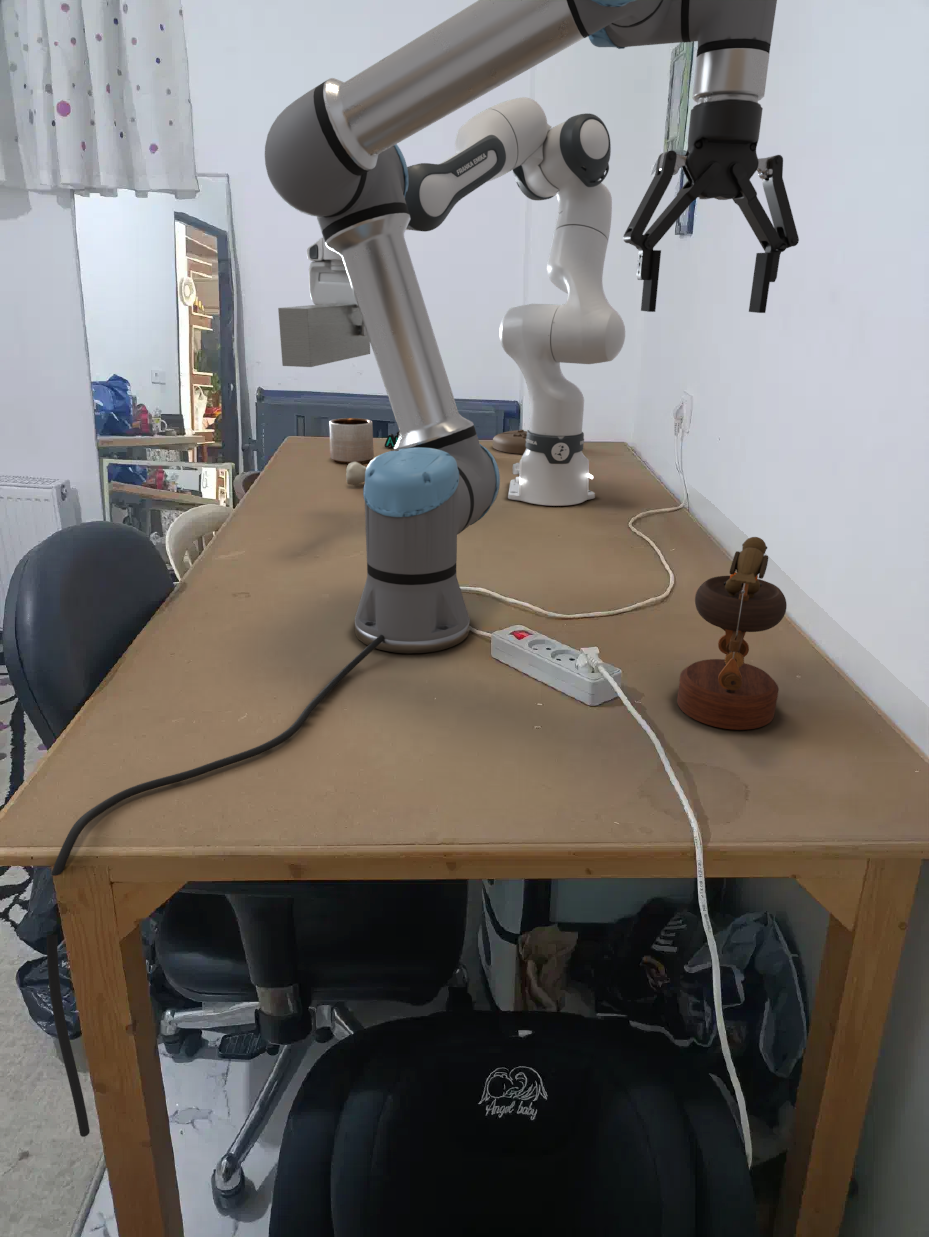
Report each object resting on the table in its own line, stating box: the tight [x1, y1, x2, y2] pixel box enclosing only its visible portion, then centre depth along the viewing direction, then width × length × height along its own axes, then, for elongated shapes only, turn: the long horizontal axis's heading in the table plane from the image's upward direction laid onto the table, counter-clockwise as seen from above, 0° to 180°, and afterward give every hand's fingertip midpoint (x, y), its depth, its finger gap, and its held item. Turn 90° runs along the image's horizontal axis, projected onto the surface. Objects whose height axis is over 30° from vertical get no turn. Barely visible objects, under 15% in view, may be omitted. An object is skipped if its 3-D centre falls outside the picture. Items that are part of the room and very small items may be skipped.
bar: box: [277, 303, 371, 368], centre depth 142 cm, size 23×5×9 cm, turn 162°
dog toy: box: [345, 462, 367, 486], centre depth 189 cm, size 20×6×5 cm, turn 99°
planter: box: [328, 417, 375, 464], centre depth 212 cm, size 11×11×10 cm
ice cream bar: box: [492, 428, 529, 455], centre depth 225 cm, size 21×28×4 cm
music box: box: [676, 536, 788, 731], centre depth 91 cm, size 15×11×20 cm
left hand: (702, 312), depth 100 cm, fingers open, 13 cm apart
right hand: (352, 334), depth 150 cm, fingers closed on bar, 6 cm apart
